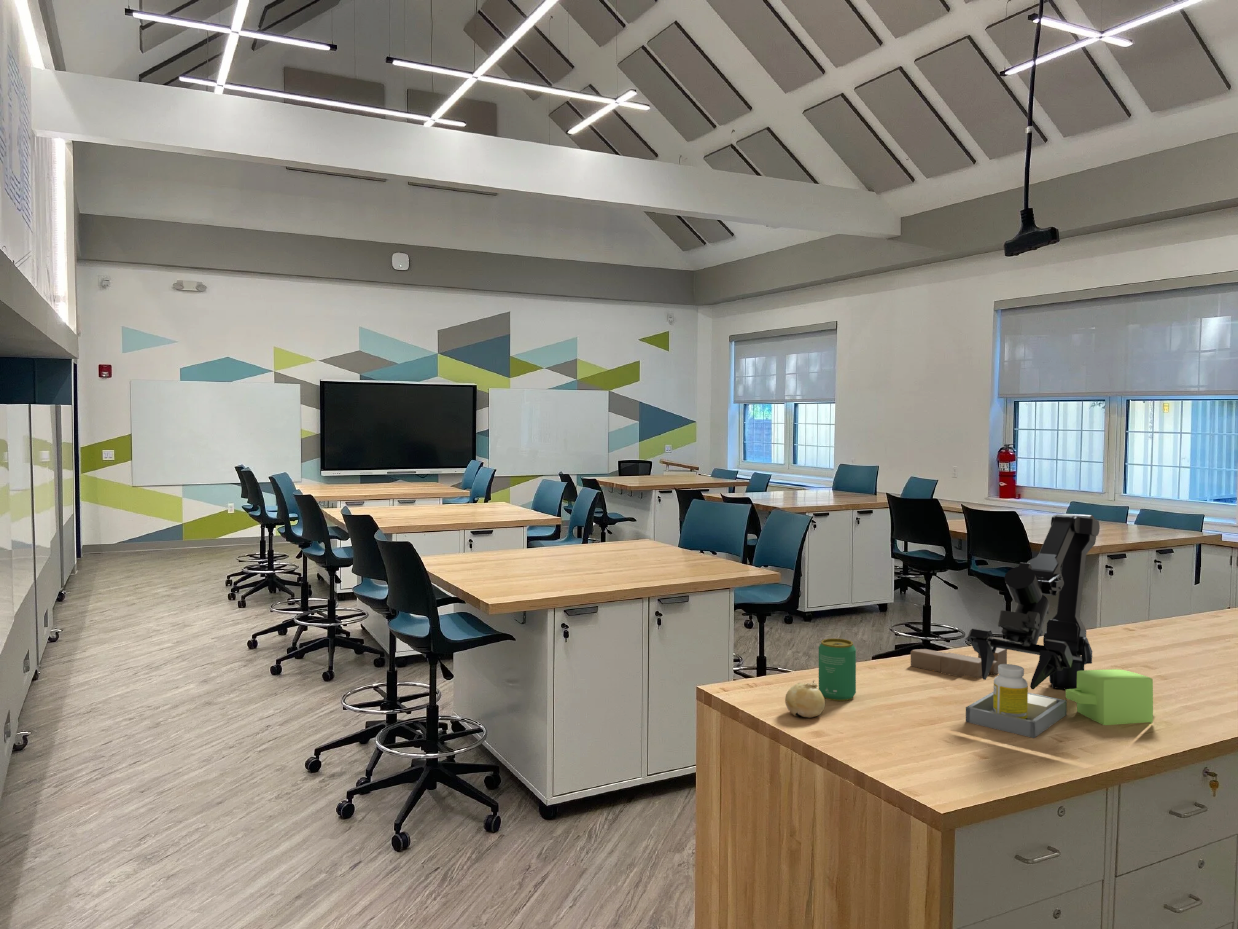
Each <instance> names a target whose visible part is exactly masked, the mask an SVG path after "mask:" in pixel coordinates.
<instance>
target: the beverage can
mask: <svg viewBox="0 0 1238 929" xmlns="http://www.w3.org/2000/svg"><path fill="white" fill-rule="evenodd" d="M820 642H821V643H820V644H819V646H818V689H819V690H820V691H821V693H822V695H823V697H824V699H825V698H826V699H825V700H828V699H830V700H829V701H837V702H846V701H847V702H848V701H850V700H853V699H854V698H855V695H856V694H857V685H856V684H857V648H856V647H855V645H854V642H853V641H852V640H849V639H845V638H825V639H822V640H821V641H820ZM853 697H854V698H853Z"/></svg>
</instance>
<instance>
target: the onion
mask: <svg viewBox="0 0 1238 929" xmlns="http://www.w3.org/2000/svg"><path fill="white" fill-rule="evenodd" d="M815 681H816V680H812V682H811V683H809V682H808V683H803V682H802V683H801V682H799V683H797V684H794V685H793V686H791V687H790V688H789V689H788V691H787V692H786V694H785V698H784V703H785V706H786V708H787V710H788V711H789V712H790V713H791V714H792V715H793V716H795V717H797V718H798V717H799V716H801V717H803V718H814V717H817V716H820V715H821V714H822V712H823V711H824V709H825V707H826V704H825V703H826V701H825V700H826V699H825V698H824V697H823V695H822V693H821V691H820V690H819V685H818V683H815Z"/></svg>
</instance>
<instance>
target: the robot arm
mask: <svg viewBox="0 0 1238 929" xmlns="http://www.w3.org/2000/svg"><path fill="white" fill-rule="evenodd" d="M1100 527H1101V525H1100V522H1099V520H1098V519H1095V517H1094V515H1093V514H1077V513H1076V514H1075V513H1074V514H1073V513H1062V514H1060V513H1059V514H1057V513H1056V514H1054V515H1052V517H1051V520H1050V527H1049V530H1048V532H1047V533H1046V534H1047V535H1046V536H1045V538H1044V541H1043V543H1042V545H1041V547H1040V550H1039V553H1038V554H1037V556H1034V558H1033V557H1032V558H1031V559H1030V560H1028V561H1027V562H1019V565H1018V566H1015V567H1012V568H1010V569H1009V570H1008V571H1007V572H1006V573H1005V575H1004V578H1003V579H1004V582H1005V584H1006V587H1007V589H1008V591H1009V594H1010V596H1011V598H1012V600H1013V601H1014V602H1015V603H1016V606H1015V609H1014V611H1010V610H1003V609H1002V610H1000V613H999V618H998V623H997V626H998V627H999V628H1002V629H1001V634H1002V635H1003V636H1005V638H1000V637H995V635H994V634H993V631H992V630H991V629H985V628H980V627H979V628H978V627H973V628H971V629H969V632H968V635H967V639H968V641H969V643H970V644H971V646H972V648H973V651H974V652H975V653H977V654H978V653H979V655H980V656H981V667H982V677H981V678H982V679H983V681H986V679H987V678H988V677H989V675H990V674H989V672H990V669H991V666H992V664H993V661H994V658H995V657H994V655H993V653H995V652H996V649H997V648H1002V649H1007V651H1008V650H1009V651H1014V652H1019V653H1025V654H1030V655H1036V656H1039V657H1038V658H1039V659H1038V662H1037V665H1036V667H1035V669H1034V672H1033V675H1032V678H1031V681H1030V684H1029V687H1030V689H1031V690H1034V689H1036V688H1037V687H1038V686H1039V685H1040V684H1042V682H1044V681H1045V680H1046V679H1047V678H1048V680H1049V681H1048V682H1049V684H1051V686H1052V688H1053V689H1059V690H1066V689H1077V671H1083V670H1085V665H1089V664H1091V665H1092V664H1093V650H1092V647H1091V645H1090V641H1089V639H1088V637H1087V629H1086V627H1085V625H1084V624H1083V621H1082V619H1081V610H1082V609H1081V608H1082V598H1083V597H1082V596H1083V587H1084V579H1085V569H1086V568H1085V567H1086V559H1087V554H1088V553H1089V552H1090V551H1091V549H1092V548H1093V547H1094V546H1095V545H1096V542H1097V536H1099V534H1100ZM1057 595H1058V600H1057V609H1056V610H1057V611H1056V614H1055V615H1054V616H1053V617H1052V618H1049V619H1048V620H1047V623H1046V629H1045V632H1043V631H1044V630H1043V629H1042V628H1043V626H1044V622H1045V619H1046V616H1047V615H1048V614H1049V613H1050V600H1048V598H1047V597H1046V596H1053V597H1054V596H1057ZM1043 633H1044V634H1043ZM1040 637H1043V638H1042V641H1043V645H1042V644H1038V641H1039V639H1040Z"/></svg>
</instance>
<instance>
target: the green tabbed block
mask: <svg viewBox="0 0 1238 929" xmlns="http://www.w3.org/2000/svg"><path fill="white" fill-rule="evenodd" d="M1153 680H1154V679H1153V678H1152V677H1150V676H1147V675H1143V674H1140V673H1137V672H1134V671H1129V670H1125V669H1116V668H1115V669H1087V670H1086V669H1084V670H1083V671H1077V689H1065V699H1067V700H1069V701H1072V702H1074V703H1076V712H1077V713H1079V714H1080V715H1082V716H1085V717H1086V718H1089V719H1090V720H1092V721H1094V722H1096V723H1098V724H1101V725H1103V726H1114V725H1127V724H1128V725H1129V724H1142V723H1143V724H1144V723H1149V724H1153V723H1154V721H1153V720H1154V682H1153Z"/></svg>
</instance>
